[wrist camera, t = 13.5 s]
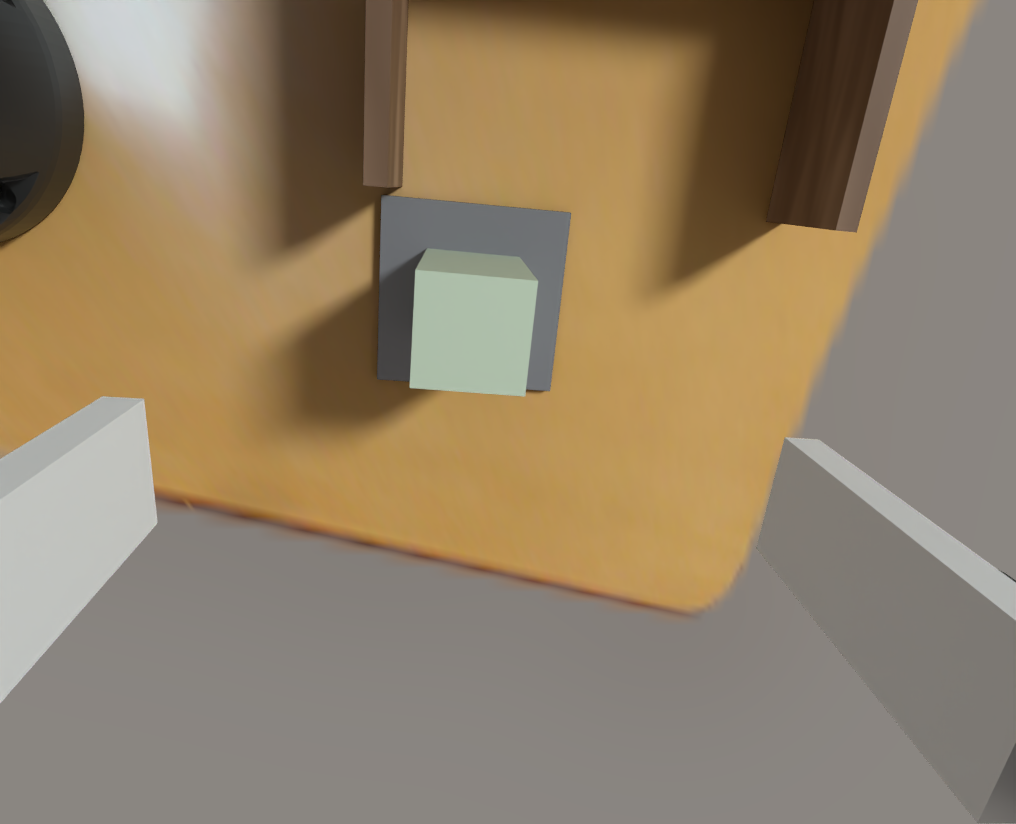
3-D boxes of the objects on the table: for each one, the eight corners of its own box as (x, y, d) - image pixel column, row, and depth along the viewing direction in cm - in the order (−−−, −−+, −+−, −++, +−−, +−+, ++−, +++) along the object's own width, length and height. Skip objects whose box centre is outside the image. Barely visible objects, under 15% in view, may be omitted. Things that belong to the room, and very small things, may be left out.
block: (422, 339, 36) (409, 387, 27) (427, 248, 34) (415, 269, 25) (510, 346, 36) (525, 396, 28) (519, 256, 34) (538, 280, 26)
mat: (378, 376, 37) (377, 379, 36) (382, 194, 33) (381, 194, 33) (548, 388, 38) (549, 391, 37) (569, 212, 34) (571, 212, 34)
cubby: (382, 184, 33) (363, 185, 27) (390, -118, 29) (368, -206, 22) (783, 223, 35) (856, 232, 29) (845, -54, 31) (949, -117, 24)
